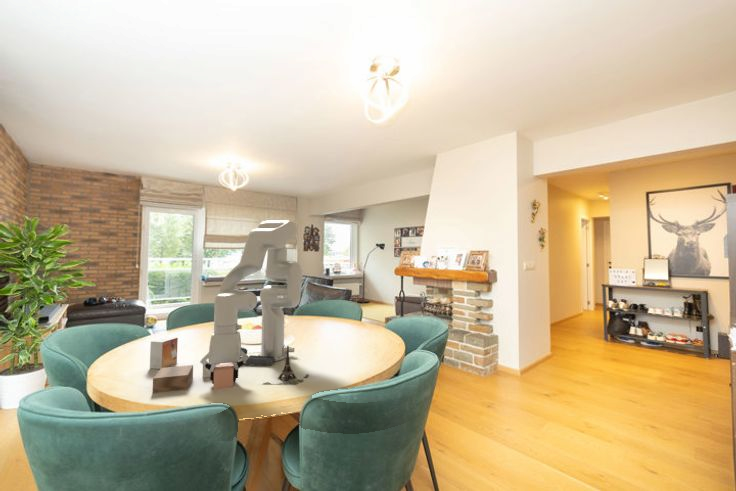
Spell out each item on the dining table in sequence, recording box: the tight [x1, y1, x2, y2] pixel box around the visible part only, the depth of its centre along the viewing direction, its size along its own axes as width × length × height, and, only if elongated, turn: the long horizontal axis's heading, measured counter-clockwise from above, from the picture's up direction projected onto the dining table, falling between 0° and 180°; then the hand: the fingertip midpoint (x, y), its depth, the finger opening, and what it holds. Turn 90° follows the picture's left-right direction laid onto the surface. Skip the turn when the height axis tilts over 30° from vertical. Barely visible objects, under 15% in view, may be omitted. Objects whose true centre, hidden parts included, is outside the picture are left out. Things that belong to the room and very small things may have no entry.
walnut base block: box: [152, 364, 194, 394], centre depth 110 cm, size 10×10×5 cm
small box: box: [149, 336, 179, 370], centre depth 129 cm, size 8×6×10 cm
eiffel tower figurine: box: [262, 345, 310, 386], centre depth 117 cm, size 15×10×13 cm
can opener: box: [238, 346, 276, 367], centre depth 133 cm, size 19×5×6 cm, turn 86°
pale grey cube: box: [202, 359, 221, 378], centre depth 121 cm, size 5×5×5 cm
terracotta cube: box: [213, 363, 235, 390], centre depth 112 cm, size 6×6×6 cm
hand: (224, 380), depth 112 cm, fingers closed on terracotta cube, 6 cm apart
